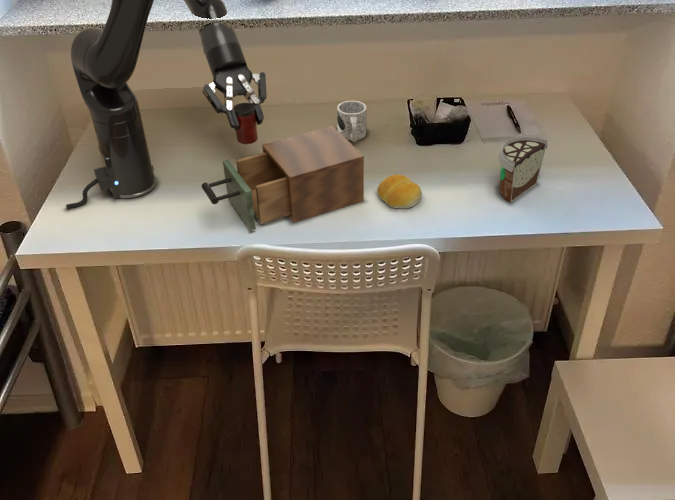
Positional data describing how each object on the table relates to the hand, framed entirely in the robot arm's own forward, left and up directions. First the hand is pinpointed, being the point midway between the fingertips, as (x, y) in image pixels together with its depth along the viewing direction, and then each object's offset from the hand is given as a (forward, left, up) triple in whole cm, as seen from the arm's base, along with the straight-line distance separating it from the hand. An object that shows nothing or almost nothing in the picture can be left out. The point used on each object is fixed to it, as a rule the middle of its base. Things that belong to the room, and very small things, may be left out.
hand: (248, 125), depth 146 cm
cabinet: (+7, -15, -11) cm, 20 cm away
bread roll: (+22, -24, -11) cm, 34 cm away
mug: (+25, +2, -11) cm, 27 cm away
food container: (+44, -32, -11) cm, 56 cm away
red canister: (0, +2, -4) cm, 5 cm away
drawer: (-5, -15, -10) cm, 19 cm away
